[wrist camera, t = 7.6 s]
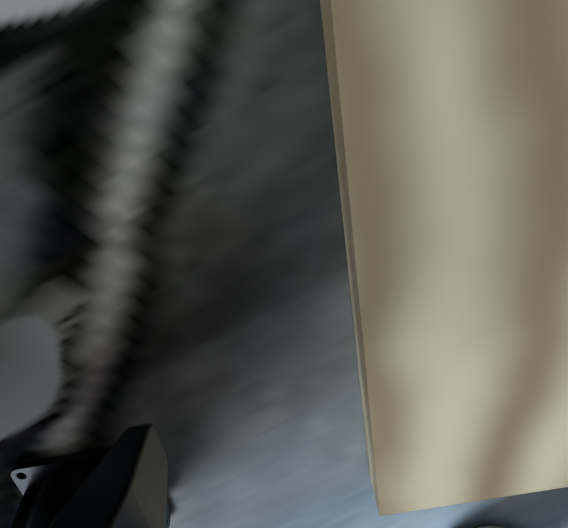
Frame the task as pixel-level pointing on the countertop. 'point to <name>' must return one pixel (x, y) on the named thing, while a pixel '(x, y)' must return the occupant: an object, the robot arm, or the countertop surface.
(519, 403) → the board
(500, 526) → the soda can
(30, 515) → the robot arm
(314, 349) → the countertop surface
